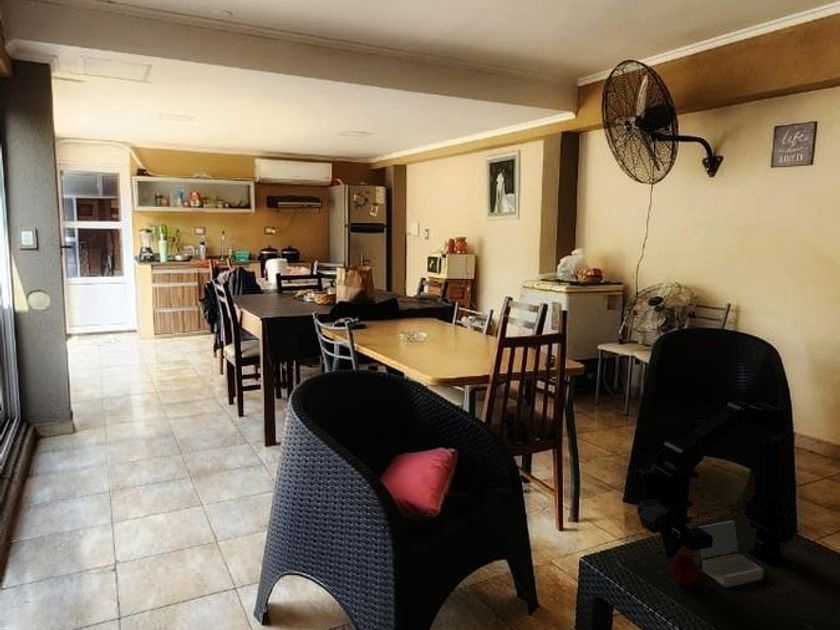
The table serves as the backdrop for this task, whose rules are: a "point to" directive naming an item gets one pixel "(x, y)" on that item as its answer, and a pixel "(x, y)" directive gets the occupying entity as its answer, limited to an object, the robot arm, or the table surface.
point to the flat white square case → (730, 569)
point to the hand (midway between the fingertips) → (670, 557)
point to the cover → (720, 538)
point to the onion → (684, 568)
